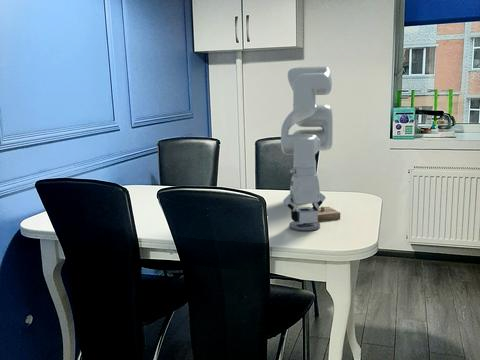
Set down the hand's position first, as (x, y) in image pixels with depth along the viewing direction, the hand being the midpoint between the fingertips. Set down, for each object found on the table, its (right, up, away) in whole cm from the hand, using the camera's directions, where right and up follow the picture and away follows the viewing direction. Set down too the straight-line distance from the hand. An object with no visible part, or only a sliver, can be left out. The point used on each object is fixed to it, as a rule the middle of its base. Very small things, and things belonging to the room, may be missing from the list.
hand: (304, 219), depth 174 cm
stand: (+9, 0, +13) cm, 16 cm away
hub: (0, -3, 0) cm, 3 cm away
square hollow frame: (0, 0, 0) cm, 0 cm away
